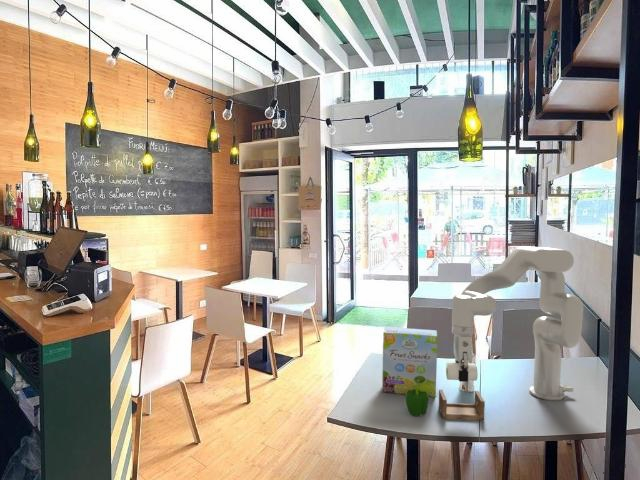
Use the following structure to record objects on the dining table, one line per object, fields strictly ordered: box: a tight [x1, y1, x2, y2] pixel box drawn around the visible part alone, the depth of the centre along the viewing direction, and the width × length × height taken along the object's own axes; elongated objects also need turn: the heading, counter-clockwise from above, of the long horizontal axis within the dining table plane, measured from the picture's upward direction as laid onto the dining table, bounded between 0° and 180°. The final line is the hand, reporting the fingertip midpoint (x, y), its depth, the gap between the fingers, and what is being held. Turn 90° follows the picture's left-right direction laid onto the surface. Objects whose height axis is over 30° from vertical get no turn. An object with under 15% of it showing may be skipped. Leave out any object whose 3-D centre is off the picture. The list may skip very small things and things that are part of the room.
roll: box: [445, 362, 479, 382], centre depth 162 cm, size 10×6×6 cm, turn 84°
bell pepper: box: [405, 385, 430, 417], centre depth 164 cm, size 8×8×10 cm
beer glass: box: [458, 352, 477, 393], centre depth 184 cm, size 7×7×15 cm
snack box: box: [381, 326, 438, 398], centre depth 182 cm, size 22×9×26 cm, turn 77°
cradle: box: [438, 389, 485, 421], centre depth 163 cm, size 14×9×7 cm, turn 84°
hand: (461, 377), depth 162 cm, fingers closed on roll, 6 cm apart
